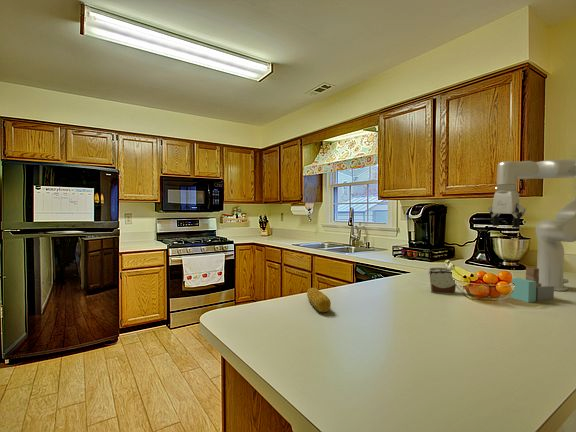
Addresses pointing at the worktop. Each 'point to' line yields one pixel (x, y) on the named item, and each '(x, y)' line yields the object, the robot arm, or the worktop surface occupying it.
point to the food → (318, 300)
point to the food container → (442, 281)
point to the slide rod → (533, 275)
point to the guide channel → (544, 292)
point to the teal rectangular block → (524, 290)
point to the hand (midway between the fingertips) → (505, 226)
